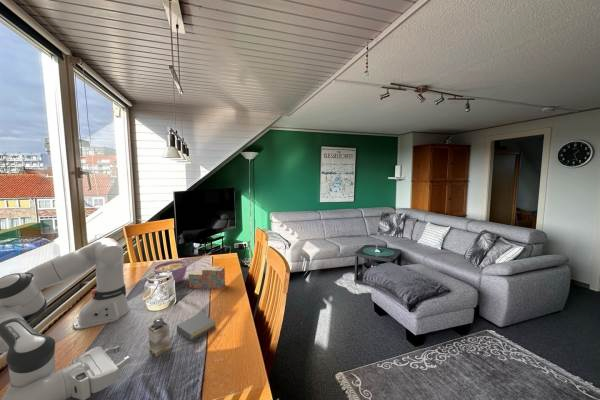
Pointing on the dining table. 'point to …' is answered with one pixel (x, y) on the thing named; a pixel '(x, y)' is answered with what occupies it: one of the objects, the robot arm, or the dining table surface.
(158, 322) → the metal canister
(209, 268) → the stack of blocks
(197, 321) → the block
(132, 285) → the dining table surface
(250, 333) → the dining table surface
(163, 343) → the small grey lidded jar
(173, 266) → the bowl of food
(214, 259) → the dining table surface
